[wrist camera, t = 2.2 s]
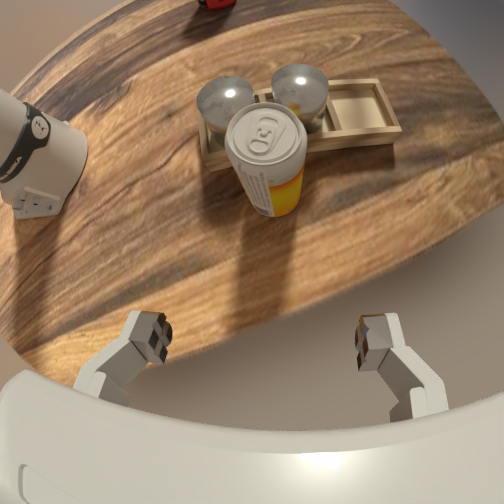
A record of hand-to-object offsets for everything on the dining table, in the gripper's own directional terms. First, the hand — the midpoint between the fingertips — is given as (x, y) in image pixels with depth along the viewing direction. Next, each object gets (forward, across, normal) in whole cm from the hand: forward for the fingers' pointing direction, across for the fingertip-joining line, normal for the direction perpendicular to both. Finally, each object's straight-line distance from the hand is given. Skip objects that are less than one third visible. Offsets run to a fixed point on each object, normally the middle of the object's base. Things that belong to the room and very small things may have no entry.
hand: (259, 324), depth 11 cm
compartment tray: (+30, -3, -1) cm, 30 cm away
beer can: (+23, +1, +6) cm, 24 cm away
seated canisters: (+28, +1, -2) cm, 28 cm away
